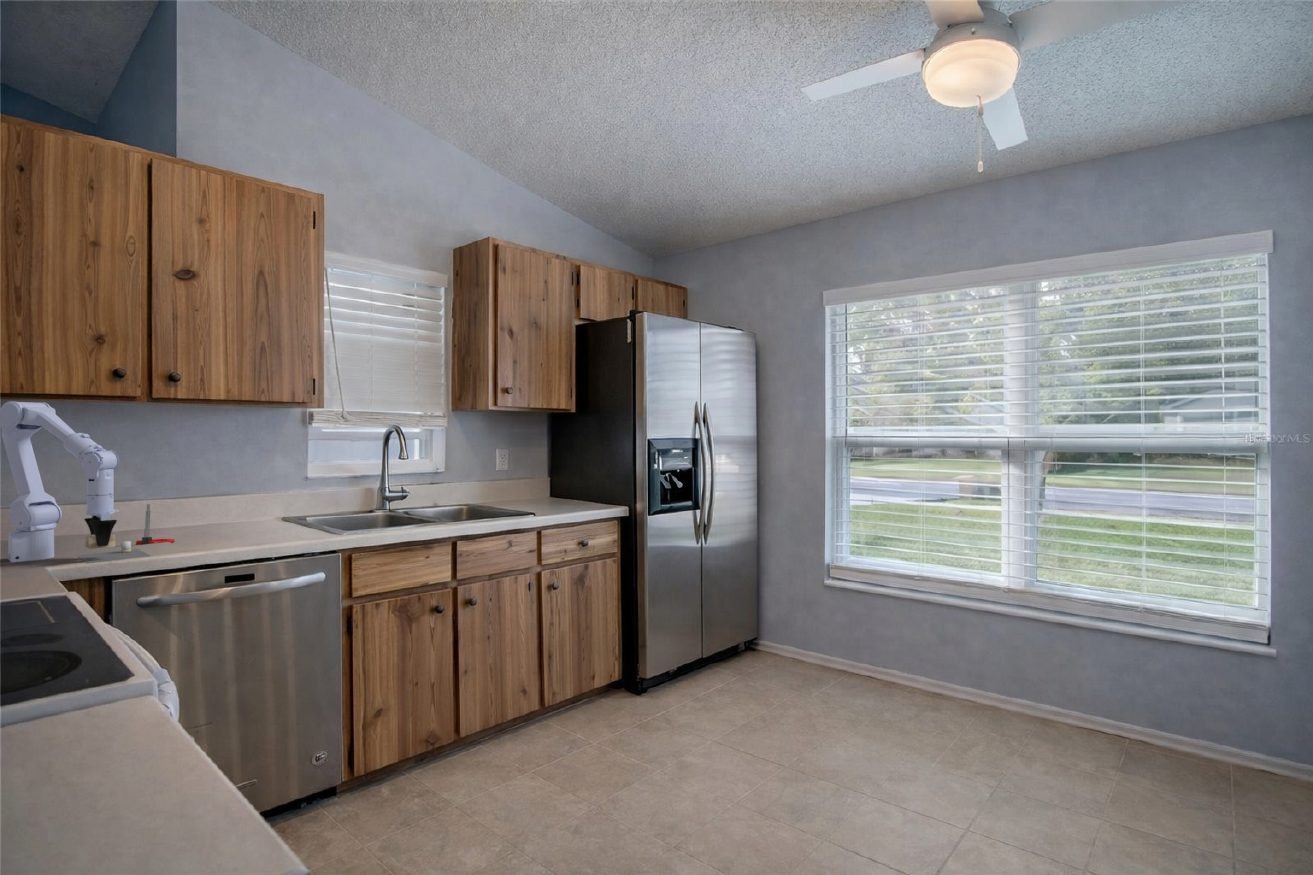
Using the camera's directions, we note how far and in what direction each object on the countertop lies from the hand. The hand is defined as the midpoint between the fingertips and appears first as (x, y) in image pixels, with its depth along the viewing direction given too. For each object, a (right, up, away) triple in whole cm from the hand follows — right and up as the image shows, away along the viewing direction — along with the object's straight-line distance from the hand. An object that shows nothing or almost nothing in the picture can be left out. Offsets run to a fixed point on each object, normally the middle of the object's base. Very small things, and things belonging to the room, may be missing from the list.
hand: (100, 544), depth 188 cm
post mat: (-1, -5, +5) cm, 7 cm away
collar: (0, -1, 0) cm, 0 cm away
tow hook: (-8, -5, +32) cm, 33 cm away
